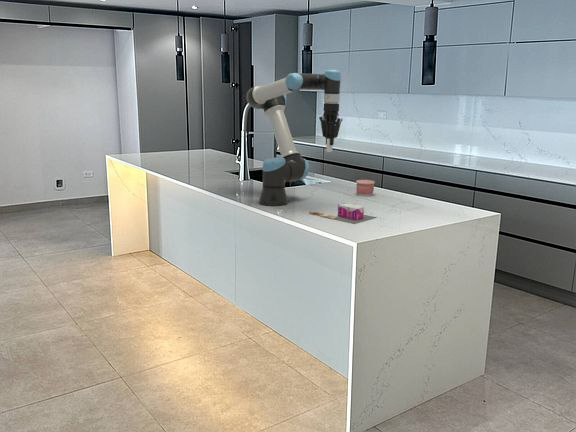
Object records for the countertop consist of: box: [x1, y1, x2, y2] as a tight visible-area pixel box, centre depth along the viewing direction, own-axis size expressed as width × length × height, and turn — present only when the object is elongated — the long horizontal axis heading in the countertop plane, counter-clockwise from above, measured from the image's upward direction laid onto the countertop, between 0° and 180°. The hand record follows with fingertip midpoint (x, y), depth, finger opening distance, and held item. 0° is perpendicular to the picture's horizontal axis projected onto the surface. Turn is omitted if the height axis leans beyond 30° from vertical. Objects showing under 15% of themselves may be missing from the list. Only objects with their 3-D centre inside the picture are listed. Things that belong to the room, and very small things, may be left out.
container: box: [355, 179, 376, 197], centre depth 318 cm, size 10×10×8 cm
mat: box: [332, 214, 378, 225], centre depth 261 cm, size 13×18×1 cm
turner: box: [308, 210, 338, 220], centre depth 264 cm, size 16×3×1 cm, turn 48°
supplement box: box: [337, 202, 365, 220], centre depth 261 cm, size 6×6×12 cm
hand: (329, 151), depth 274 cm, fingers closed
